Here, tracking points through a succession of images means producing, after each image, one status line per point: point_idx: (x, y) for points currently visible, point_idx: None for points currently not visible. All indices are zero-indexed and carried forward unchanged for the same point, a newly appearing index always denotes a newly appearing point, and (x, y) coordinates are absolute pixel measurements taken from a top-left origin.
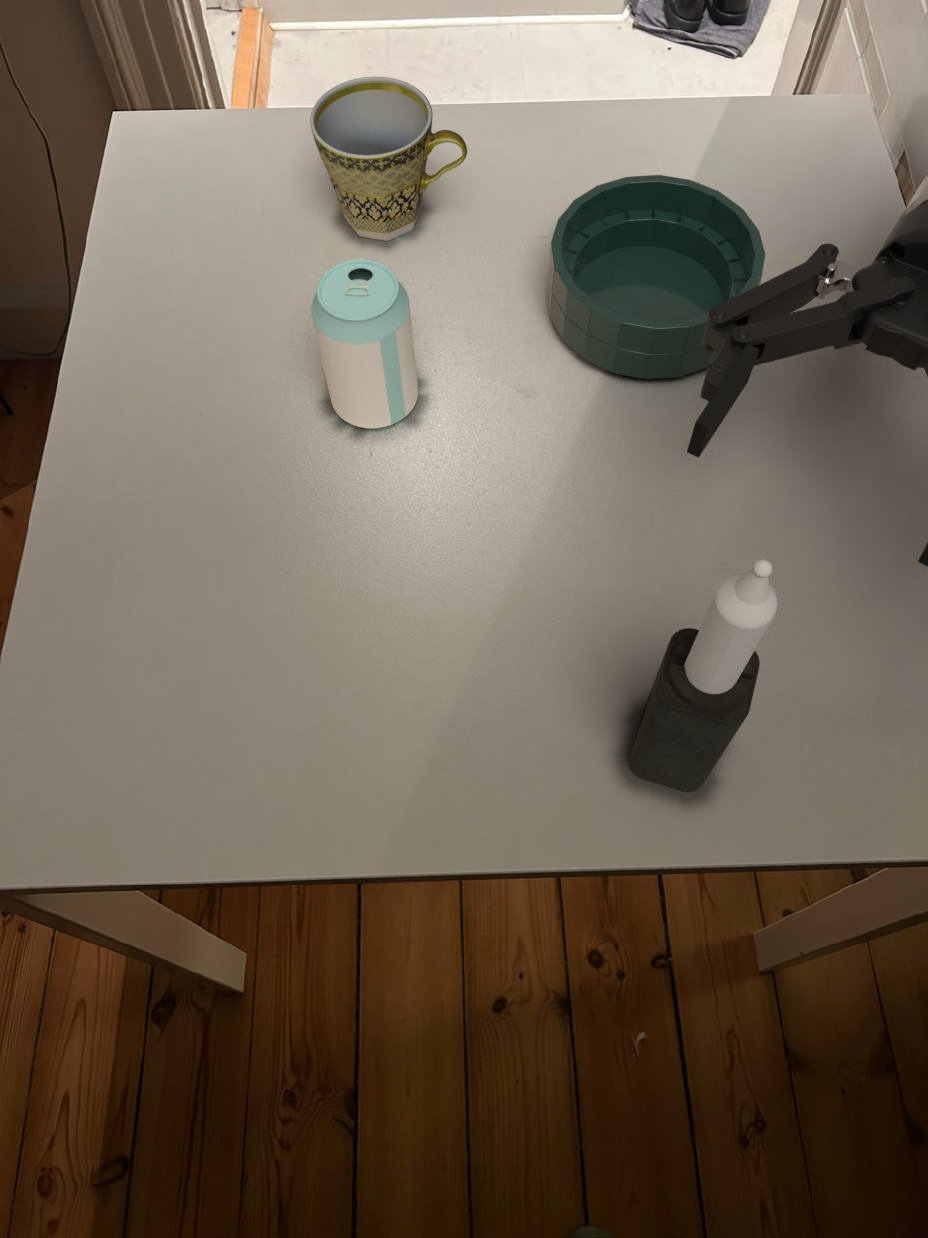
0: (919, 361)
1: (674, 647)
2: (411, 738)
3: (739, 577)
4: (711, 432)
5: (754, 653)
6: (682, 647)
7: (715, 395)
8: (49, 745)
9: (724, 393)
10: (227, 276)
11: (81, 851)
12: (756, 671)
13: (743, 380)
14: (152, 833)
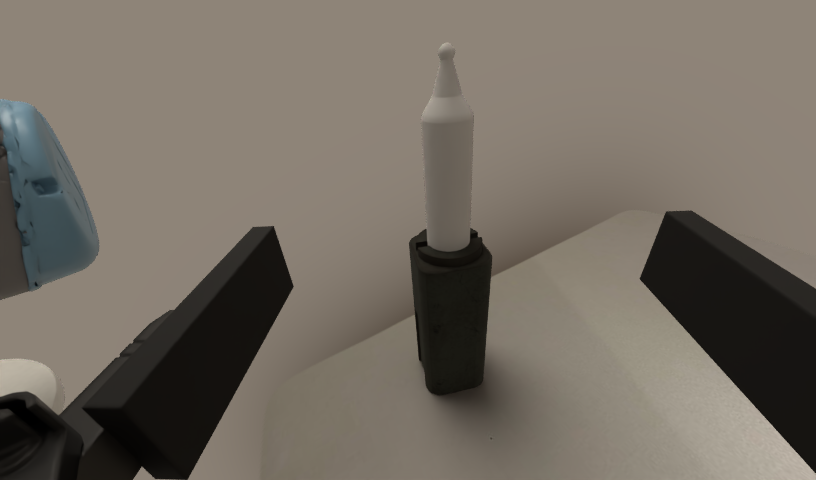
0: None
1: (483, 249)
2: (584, 299)
3: (461, 95)
4: (671, 277)
5: (426, 268)
6: (477, 241)
7: (747, 248)
8: None
9: (746, 259)
10: None
11: (628, 219)
12: (417, 262)
13: (806, 378)
14: (618, 230)
